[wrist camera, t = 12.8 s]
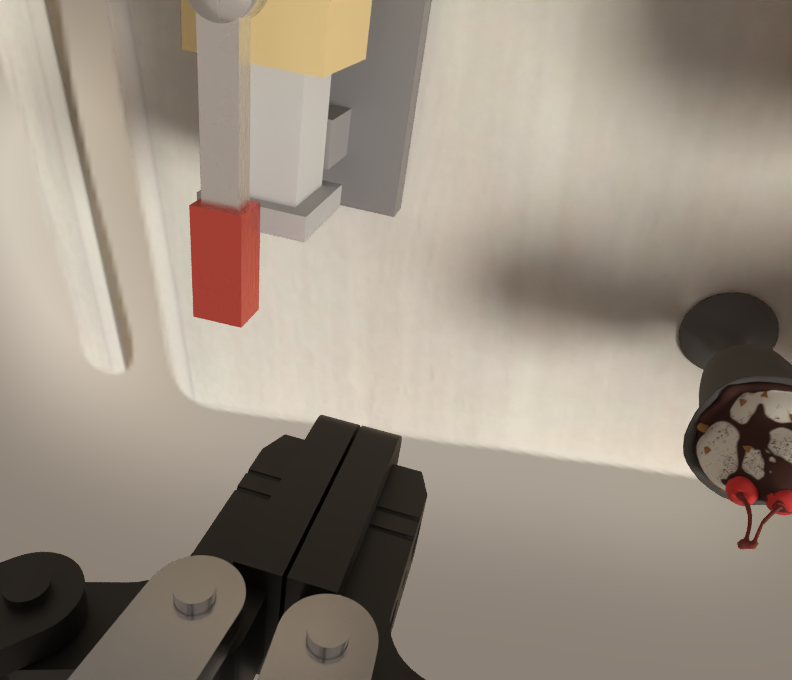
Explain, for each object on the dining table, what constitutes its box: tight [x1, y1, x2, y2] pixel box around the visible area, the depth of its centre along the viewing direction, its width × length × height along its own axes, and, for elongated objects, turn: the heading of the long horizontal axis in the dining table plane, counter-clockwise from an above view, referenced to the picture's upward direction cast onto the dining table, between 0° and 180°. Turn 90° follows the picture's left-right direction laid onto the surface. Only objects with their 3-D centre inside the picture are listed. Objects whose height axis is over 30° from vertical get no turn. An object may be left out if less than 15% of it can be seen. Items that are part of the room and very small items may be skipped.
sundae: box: [679, 293, 792, 549], centre depth 31 cm, size 7×7×15 cm
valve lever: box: [188, 0, 267, 327], centre depth 27 cm, size 14×3×2 cm, turn 173°
